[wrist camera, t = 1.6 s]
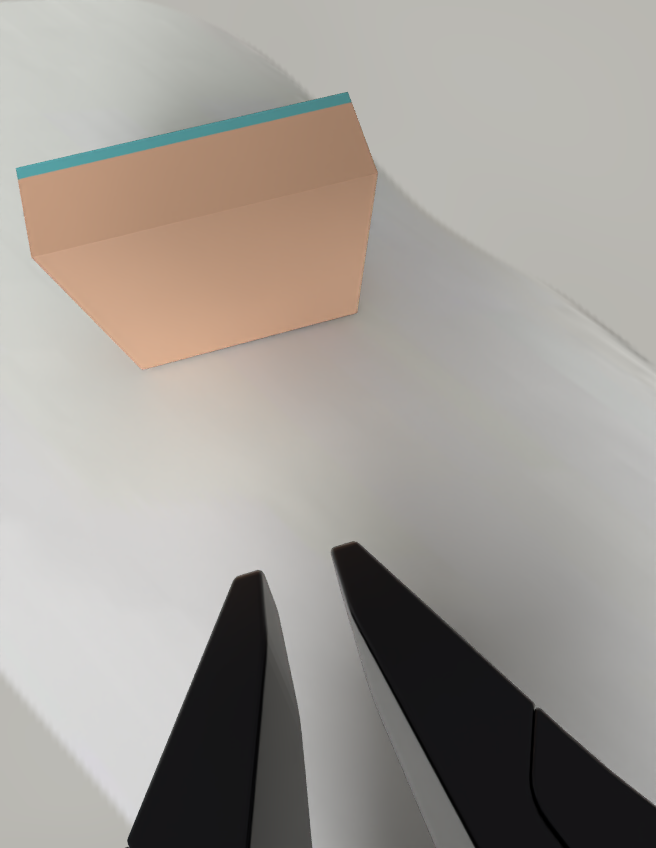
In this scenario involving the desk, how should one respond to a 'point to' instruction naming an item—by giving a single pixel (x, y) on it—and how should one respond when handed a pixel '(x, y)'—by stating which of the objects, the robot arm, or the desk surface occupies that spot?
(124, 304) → the tile
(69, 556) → the desk surface
